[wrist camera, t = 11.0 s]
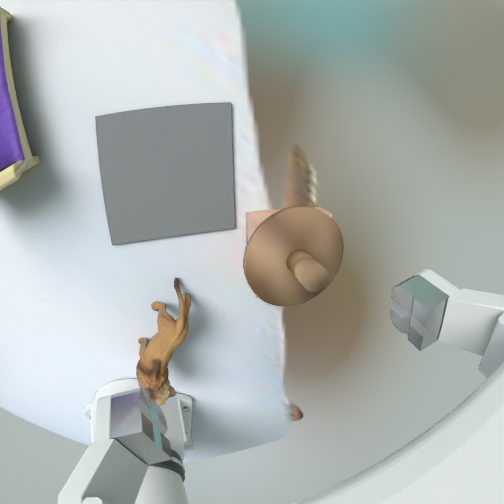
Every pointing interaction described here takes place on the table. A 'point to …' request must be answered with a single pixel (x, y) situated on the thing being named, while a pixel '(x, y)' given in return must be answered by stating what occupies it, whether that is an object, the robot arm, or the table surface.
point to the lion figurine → (162, 349)
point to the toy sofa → (11, 118)
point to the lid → (293, 255)
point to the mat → (167, 171)
